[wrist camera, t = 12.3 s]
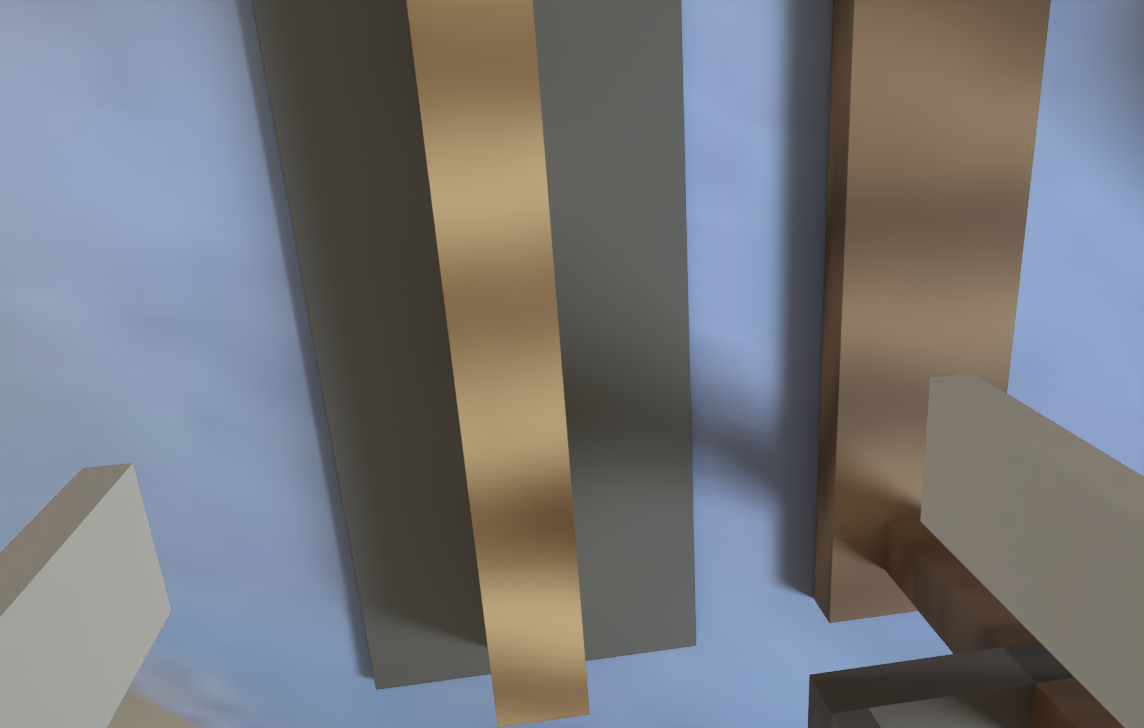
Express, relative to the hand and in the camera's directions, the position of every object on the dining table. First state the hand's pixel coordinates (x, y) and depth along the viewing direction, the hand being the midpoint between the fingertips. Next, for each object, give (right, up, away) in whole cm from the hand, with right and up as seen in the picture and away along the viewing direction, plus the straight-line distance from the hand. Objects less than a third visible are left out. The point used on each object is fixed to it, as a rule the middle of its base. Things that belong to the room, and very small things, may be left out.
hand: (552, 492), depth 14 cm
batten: (-2, +5, +13) cm, 14 cm away
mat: (-2, +5, +13) cm, 14 cm away
